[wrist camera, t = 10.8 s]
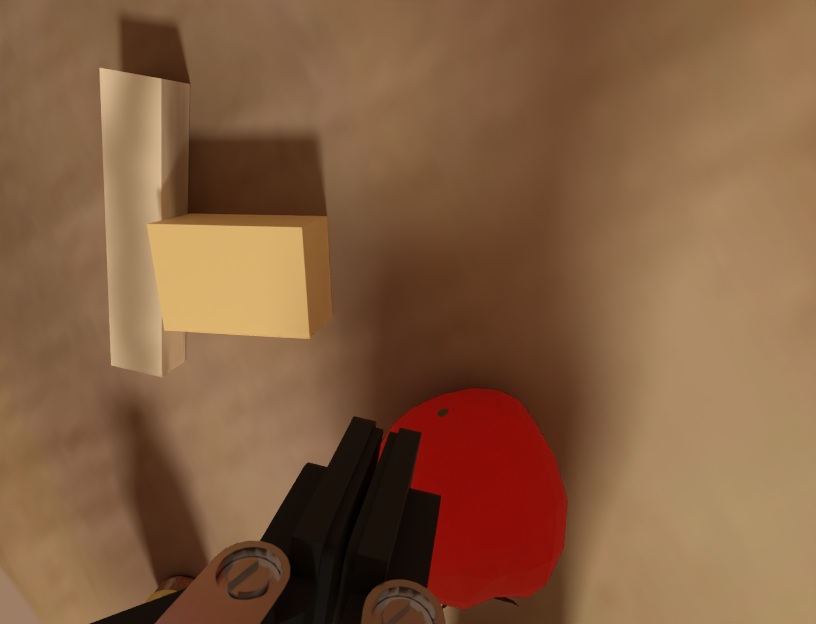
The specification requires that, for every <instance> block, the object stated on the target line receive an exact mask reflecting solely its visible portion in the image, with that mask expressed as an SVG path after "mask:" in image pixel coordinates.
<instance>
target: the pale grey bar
mask: <svg viewBox="0 0 816 624" xmlns="http://www.w3.org/2000/svg"><path fill="white" fill-rule="evenodd" d="M100 92H101V117H102V143H103V168H104V194H105V219H106V245H107V270H108V296H109V321H110V347H111V365H112V366H117V367H121V368H125V369H129V370H133V371H137V372H142V373H146V374H150V375H154V376H158V377H163V376H164V375H166V374H167V373H169V372H170V371H171V370H173V369H174V368H176V367H177V366H178V365H180V364H181V363H183V362H184V361H185V355H186V332H182V331H164V325H163V319H162V313H161V307H160V301H159V295H158V289H157V283H156V277H155V271H154V265H153V259H152V253H151V247H150V241H149V235H148V229H147V224H148V223H152V222H156V221H161V220H165V219H169V218H173V217H178V216H182V215H186V214H188V172H189V111H190V84H188V83H182V82H177V81H171V80H166V79H161V78H155V77H149V76H143V75H138V74H132V73H126V72H121V71H115V70H109V69H104V68H100Z"/></svg>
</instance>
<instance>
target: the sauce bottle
mask: <svg viewBox="0 0 816 624" xmlns="http://www.w3.org/2000/svg"><path fill="white" fill-rule="evenodd" d="M194 580H195V579H192V578H189V577H182V576H176V577H171V578H169V579H166V580H165V581H163V582H162V583H161V584H160V586H159V587H158V588H157V590H156V591H155V592H154V594H152V595H151V596H150V597H149V598H148V600H147V601H146V602H145V603H147V602H150V601H152V600H155V599H158V598H160V597H163V596H166V595H168V594H171V593H174V592H176V591H179V590H182V589H184V588H187V587H188V586H189V585H190V584H191V583H192V582H193V581H194Z"/></svg>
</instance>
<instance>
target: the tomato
mask: <svg viewBox="0 0 816 624" xmlns="http://www.w3.org/2000/svg"><path fill="white" fill-rule="evenodd" d="M400 427H401V428H405V429H409V430H414V431H418V432H422V435H421V440H420V445H419V450H418V455H417V459H416V464H415V469H414V474H413V479H412V484H411V488H413V489H417V490H421V491H425V492H429V493H433V494H437V495H441V503H440V510H439V516H438V523H437V529H436V535H435V542H434V548H433V555H432V561H431V567H430V574H429V580H428V587H427V589H428V590H429V591H430V592H431V593H432V594H433V595H434V596H435V597H436V598H437V599H438V601H439V603H440V604H443V606H442V608H445V607H446V606H451V607H456V608H460V609H464V610H465V609H468V608H470V607H472V606H475V605H477V604H480V603H482V602H484V601H487V600H489V599H492V598H495V599H498V600H502V601H506V602H510V603H513V604H515V605H517V604H516V603H515V602H514V601H513V600H510V599H508V598H506V597H530V596H531V595H533V594H534V593H535V592H537V591H538V590H539V589H541V588H542V587H543V586H545V585H546V583H547V581H548V580H549V578H550V576H551V574H552V572H553V569H554V567H555V565H556V563H557V561H558V558H559V556H560V554H561V552H562V550H563V547H564V538H565V526H566V514H567V497H566V494H565V490H564V487H563V484H562V480H561V477H560V473H559V470H558V466H557V463H556V460H555V457H554V455H553V453H552V452H551V450H550V448H549V446H548V445H547V443H546V441H545V439H544V437H543V436H542V434H541V432H540V430H539V429H538V427H537V425H536V423H535V422H534V420H533V418H532V416H531V415H530V414H529V413H528V411H527V410H526V409H525V407H524V406H523V405H522V404H521V402H519V401H518V400H517V399H515V398H514V397H512V396H510V395H508V394H505V393H503V392H501V391H499V390H492V389H480V388H471V389H466V390H461V391H456V392H451V393H446V394H442V395H439V396H437V397H435V398H432V399H430V400H428V401H426V402H424V403H422V404H420V405H418V406H416V407H414V408H412V409H411V410H409V411H408V412H407V413H406V414H404V415H403V416H402V417H400V418H399V419H398V420H397V421H395V422H394V424H393V425H392V427H391V429H390V430H389V432H390V431H391V432H396V433H398V431H399V428H400ZM389 432H388V433H387V435H386V436H385V438H384V440H383V441H382V443H381V448H380V454H379V459H380V456H381V454H382V451H383V448H384V445H385V443H386V440H387V437H388V435H389ZM378 462H379V460H378ZM517 606H518V605H517Z"/></svg>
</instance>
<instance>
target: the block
mask: <svg viewBox="0 0 816 624" xmlns="http://www.w3.org/2000/svg"><path fill="white" fill-rule="evenodd" d="M147 229H148V235H149V241H150V247H151V253H152V259H153V265H154V271H155V277H156V283H157V289H158V295H159V301H160V307H161V313H162V319H163V325H164V331H182V332H199V333H216V334H234V335H251V336H268V337H286V338H303V339H310V338H311V337H312V336H313V335H314V334H315V333H316V332H317V331H318V330H319V329H320V327H321V326H322V325H323V324H324V323H325V322H326V321H327V320H328V319H329V318H330V317H331V316H332V296H331V278H330V260H329V241H328V223H327V216H296V215H244V214H191V213H190V214H186V215H182V216H178V217H173V218H169V219H165V220H161V221H156V222H152V223H148V224H147Z"/></svg>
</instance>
